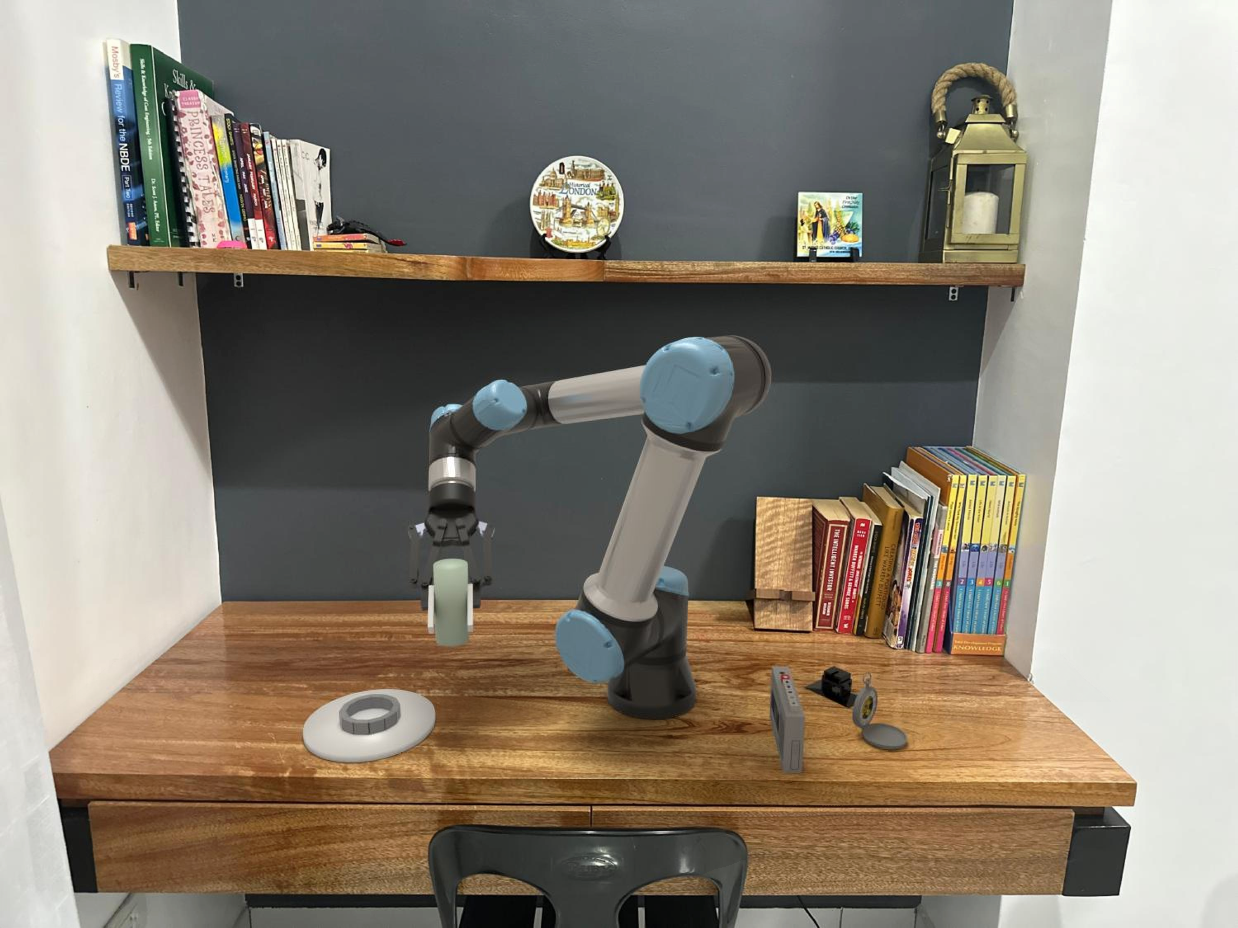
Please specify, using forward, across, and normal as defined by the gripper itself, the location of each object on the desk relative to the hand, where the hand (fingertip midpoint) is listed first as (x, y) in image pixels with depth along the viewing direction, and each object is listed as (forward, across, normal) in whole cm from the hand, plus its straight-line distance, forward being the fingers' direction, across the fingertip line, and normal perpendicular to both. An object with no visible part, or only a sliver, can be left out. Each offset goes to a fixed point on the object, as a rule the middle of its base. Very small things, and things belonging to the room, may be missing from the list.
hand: (450, 629), depth 117 cm
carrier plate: (+8, +13, -20) cm, 25 cm away
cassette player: (+18, -50, -9) cm, 54 cm away
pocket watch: (+18, -65, -8) cm, 68 cm away
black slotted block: (+9, -65, -19) cm, 68 cm away
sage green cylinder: (0, 0, -5) cm, 5 cm away
